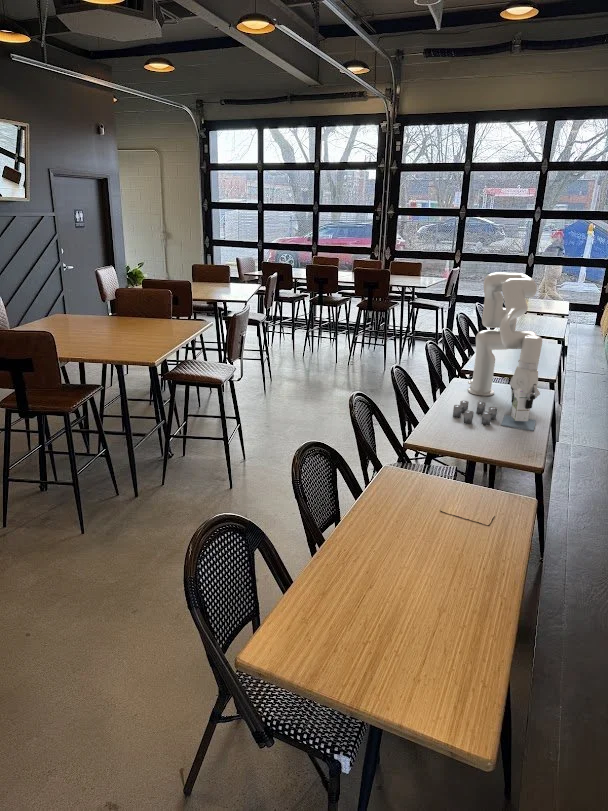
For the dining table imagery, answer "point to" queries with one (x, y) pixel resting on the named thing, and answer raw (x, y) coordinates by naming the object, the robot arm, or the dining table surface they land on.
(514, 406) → the syrup box
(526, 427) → the slate mat
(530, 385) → the robot arm
